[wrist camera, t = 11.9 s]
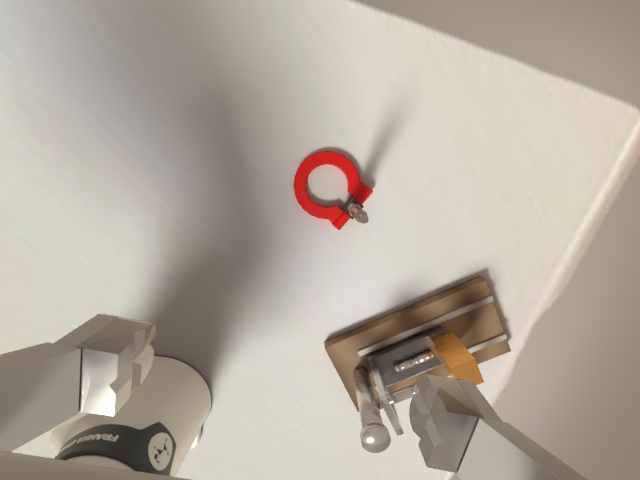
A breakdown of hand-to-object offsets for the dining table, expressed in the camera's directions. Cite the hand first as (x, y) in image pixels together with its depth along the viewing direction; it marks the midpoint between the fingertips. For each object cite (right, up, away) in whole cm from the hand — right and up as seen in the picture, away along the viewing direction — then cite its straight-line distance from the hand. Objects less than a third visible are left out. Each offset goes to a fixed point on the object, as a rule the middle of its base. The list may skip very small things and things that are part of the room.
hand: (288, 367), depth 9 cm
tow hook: (+2, +11, +30) cm, 32 cm away
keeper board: (+15, -11, +35) cm, 40 cm away
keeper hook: (+10, -14, +34) cm, 38 cm away
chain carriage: (+14, -12, +33) cm, 38 cm away
